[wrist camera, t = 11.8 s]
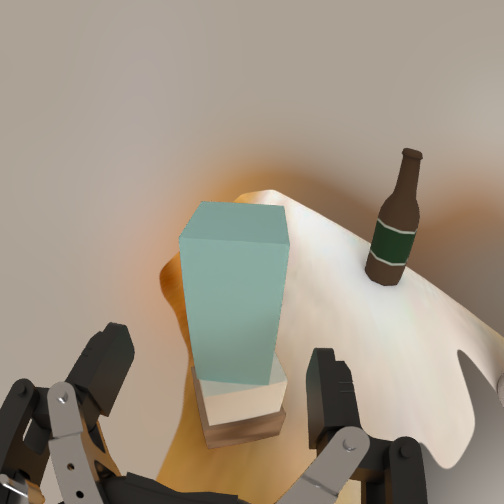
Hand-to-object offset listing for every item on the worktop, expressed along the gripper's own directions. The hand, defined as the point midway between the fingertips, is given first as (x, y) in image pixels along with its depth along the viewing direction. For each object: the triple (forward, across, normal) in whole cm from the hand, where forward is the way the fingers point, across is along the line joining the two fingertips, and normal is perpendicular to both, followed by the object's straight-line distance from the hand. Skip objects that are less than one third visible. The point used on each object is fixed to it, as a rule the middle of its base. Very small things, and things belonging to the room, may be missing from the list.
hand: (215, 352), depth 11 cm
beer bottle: (+34, -25, +17) cm, 46 cm away
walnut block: (+6, 0, +18) cm, 19 cm away
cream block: (+6, 0, +13) cm, 14 cm away
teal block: (+6, 0, +8) cm, 10 cm away
